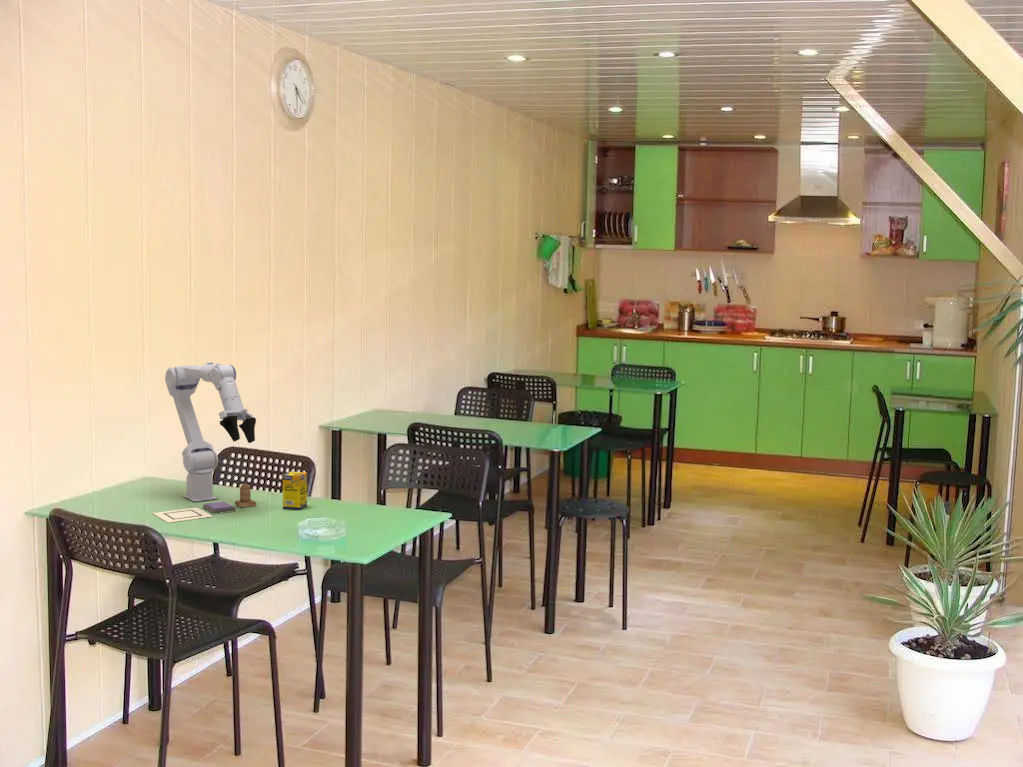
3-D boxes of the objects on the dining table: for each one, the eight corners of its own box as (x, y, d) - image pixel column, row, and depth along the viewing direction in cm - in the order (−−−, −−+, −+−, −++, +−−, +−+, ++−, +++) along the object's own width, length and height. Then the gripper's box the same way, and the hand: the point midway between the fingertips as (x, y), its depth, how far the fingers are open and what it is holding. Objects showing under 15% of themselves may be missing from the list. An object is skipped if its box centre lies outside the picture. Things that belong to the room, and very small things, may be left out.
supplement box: (300, 510, 356) (300, 475, 355) (282, 509, 357) (282, 474, 356) (307, 506, 362) (307, 472, 361) (289, 505, 363) (289, 471, 362)
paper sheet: (152, 513, 349) (152, 512, 349) (196, 508, 357) (196, 507, 357) (167, 523, 338) (167, 522, 338) (213, 516, 346) (213, 515, 346)
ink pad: (203, 508, 357) (203, 503, 357) (224, 505, 361) (224, 500, 361) (213, 514, 350) (213, 509, 350) (235, 511, 354) (235, 506, 354)
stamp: (234, 505, 362) (234, 483, 361) (249, 503, 365) (249, 481, 364) (241, 508, 358) (240, 486, 357) (256, 506, 361) (255, 484, 360)
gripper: (226, 393, 345) (240, 434, 341) (255, 397, 358) (268, 437, 355) (209, 402, 347) (221, 443, 344) (238, 407, 360) (250, 446, 357)
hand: (244, 441), depth 349 cm, fingers open, 7 cm apart
